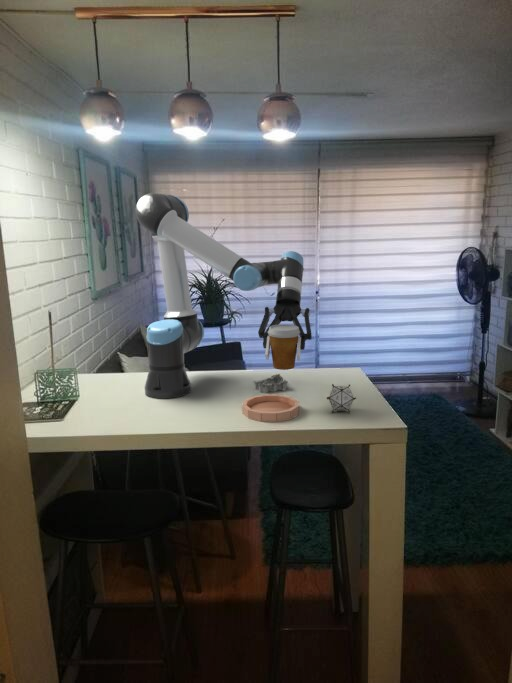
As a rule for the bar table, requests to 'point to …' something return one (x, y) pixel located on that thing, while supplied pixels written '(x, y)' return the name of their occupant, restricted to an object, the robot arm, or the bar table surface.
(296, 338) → the disposable coffee cup
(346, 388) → the game die
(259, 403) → the terracotta bowl
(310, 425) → the bar table surface
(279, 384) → the egg carton
